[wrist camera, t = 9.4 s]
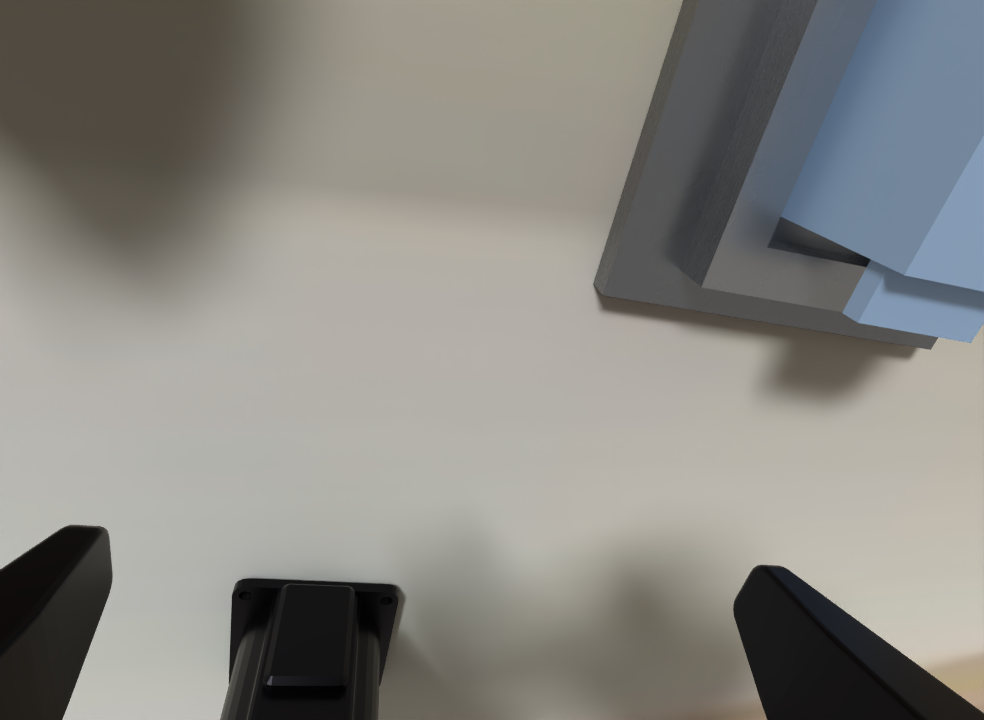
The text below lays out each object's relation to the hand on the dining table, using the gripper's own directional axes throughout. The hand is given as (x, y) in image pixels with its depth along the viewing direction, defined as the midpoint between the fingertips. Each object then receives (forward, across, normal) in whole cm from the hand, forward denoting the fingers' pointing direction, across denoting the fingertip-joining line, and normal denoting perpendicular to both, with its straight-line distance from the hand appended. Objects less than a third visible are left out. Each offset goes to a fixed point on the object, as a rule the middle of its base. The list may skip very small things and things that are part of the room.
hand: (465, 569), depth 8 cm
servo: (+11, -12, -7) cm, 18 cm away
